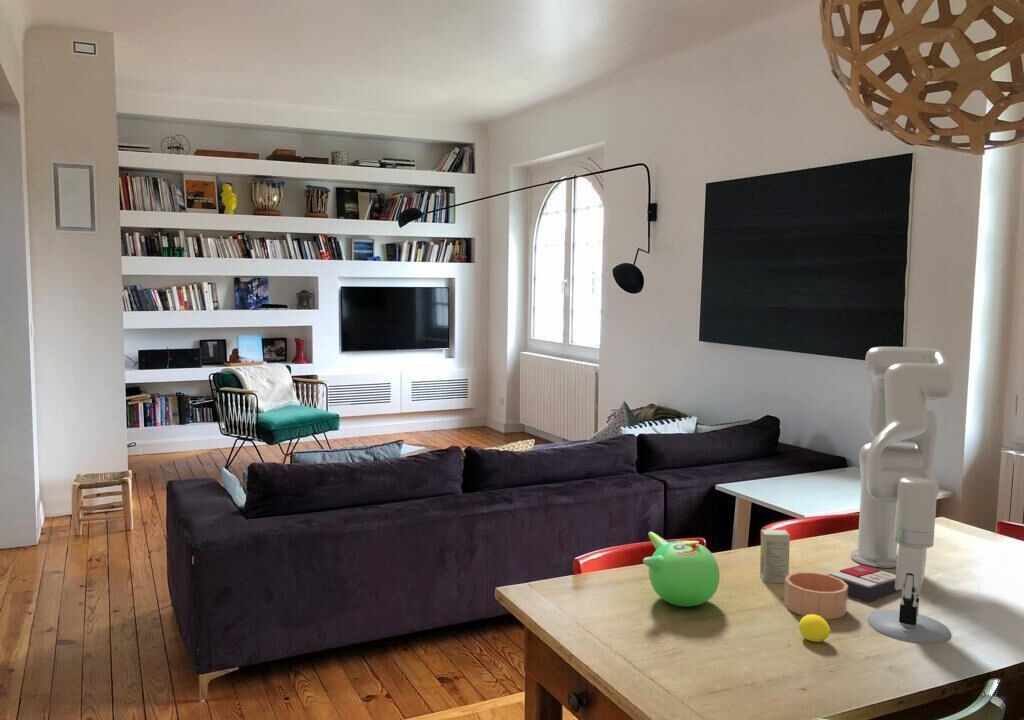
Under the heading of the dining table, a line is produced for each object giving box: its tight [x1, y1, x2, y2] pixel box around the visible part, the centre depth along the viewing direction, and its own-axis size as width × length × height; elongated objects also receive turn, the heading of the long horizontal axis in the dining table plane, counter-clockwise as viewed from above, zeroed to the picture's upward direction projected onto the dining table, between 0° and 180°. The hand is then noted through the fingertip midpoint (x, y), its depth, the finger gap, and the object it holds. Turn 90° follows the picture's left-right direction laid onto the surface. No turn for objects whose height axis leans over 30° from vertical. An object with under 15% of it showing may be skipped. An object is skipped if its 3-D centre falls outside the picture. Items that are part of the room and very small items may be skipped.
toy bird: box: [642, 531, 721, 608], centre depth 188 cm, size 18×17×15 cm
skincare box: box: [759, 529, 791, 584], centre depth 203 cm, size 6×4×12 cm
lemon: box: [798, 614, 832, 643], centre depth 169 cm, size 7×5×5 cm
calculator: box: [827, 564, 902, 604], centre depth 198 cm, size 11×4×15 cm
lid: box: [866, 602, 951, 644], centre depth 176 cm, size 16×16×6 cm
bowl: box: [783, 571, 849, 621], centre depth 186 cm, size 13×13×6 cm
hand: (908, 618), depth 176 cm, fingers open, 4 cm apart
